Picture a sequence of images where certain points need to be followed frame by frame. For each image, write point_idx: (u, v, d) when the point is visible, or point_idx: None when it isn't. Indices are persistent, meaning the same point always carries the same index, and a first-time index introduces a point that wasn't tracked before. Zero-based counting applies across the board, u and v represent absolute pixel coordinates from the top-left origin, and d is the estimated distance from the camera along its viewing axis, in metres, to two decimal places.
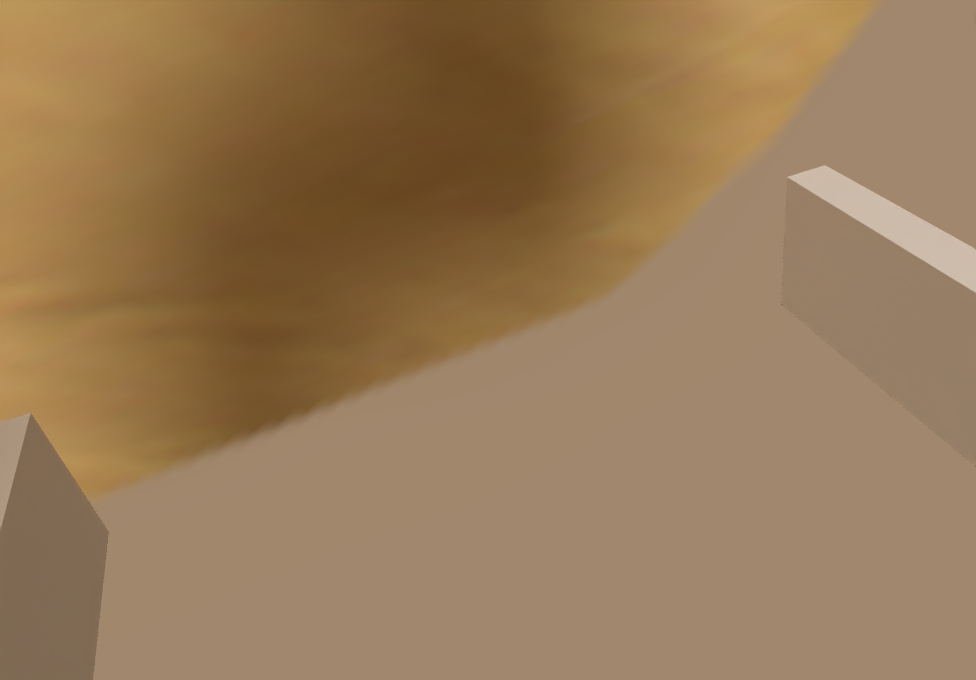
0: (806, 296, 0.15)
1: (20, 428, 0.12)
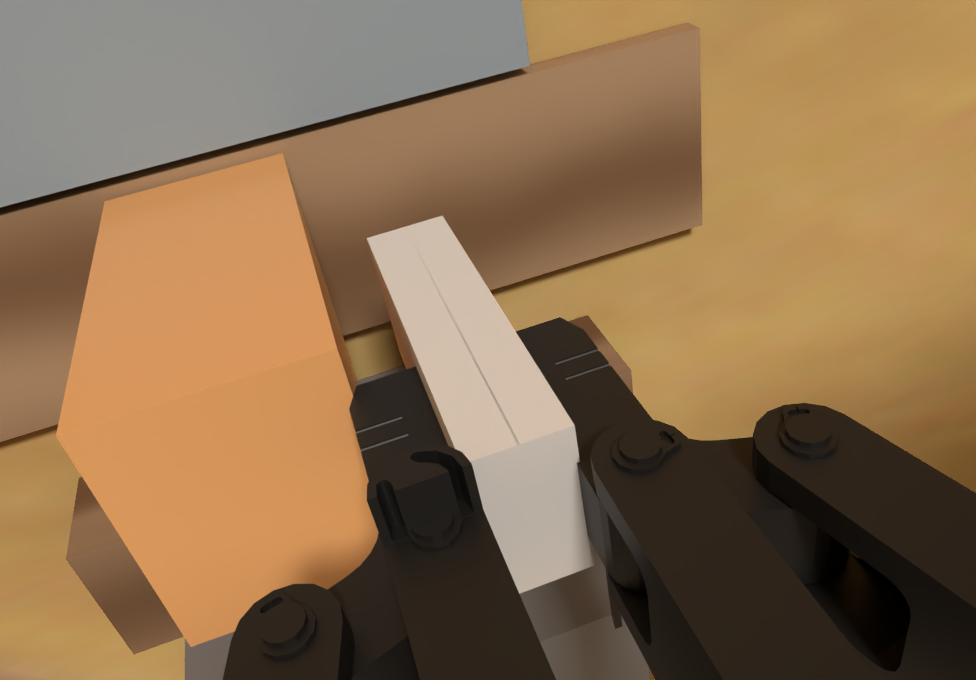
0: None
1: (405, 235, 0.15)
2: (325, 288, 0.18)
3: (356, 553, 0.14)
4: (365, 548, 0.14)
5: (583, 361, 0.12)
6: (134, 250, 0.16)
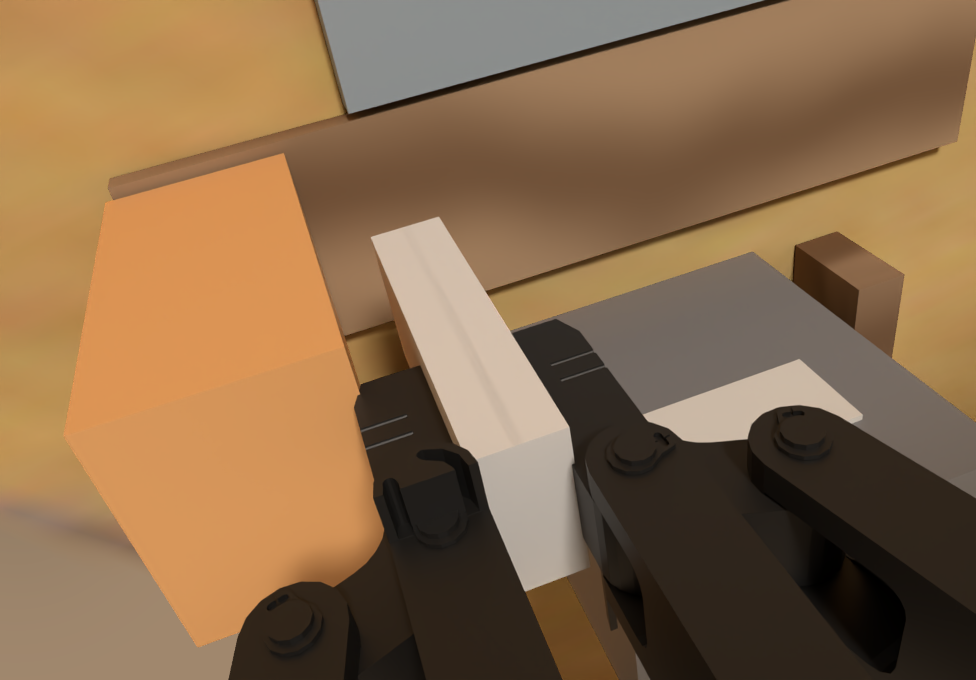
0: None
1: (408, 234, 0.15)
2: None
3: (363, 552, 0.14)
4: (372, 547, 0.14)
5: (579, 363, 0.12)
6: (136, 250, 0.16)
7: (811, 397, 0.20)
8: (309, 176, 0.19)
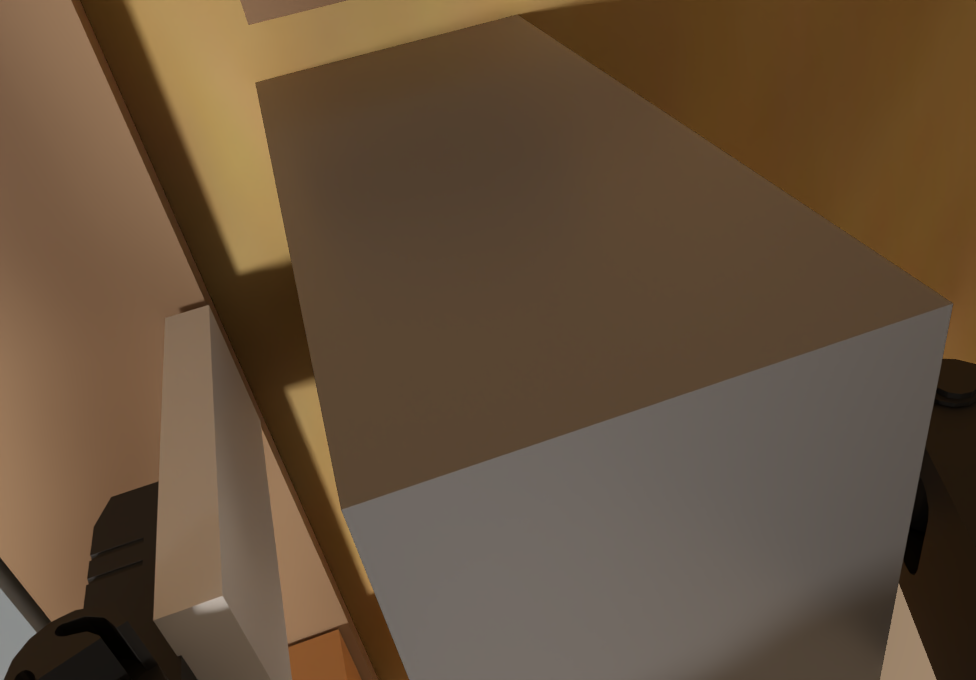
0: None
1: (204, 315, 0.14)
2: None
3: None
4: None
5: None
6: None
7: None
8: None
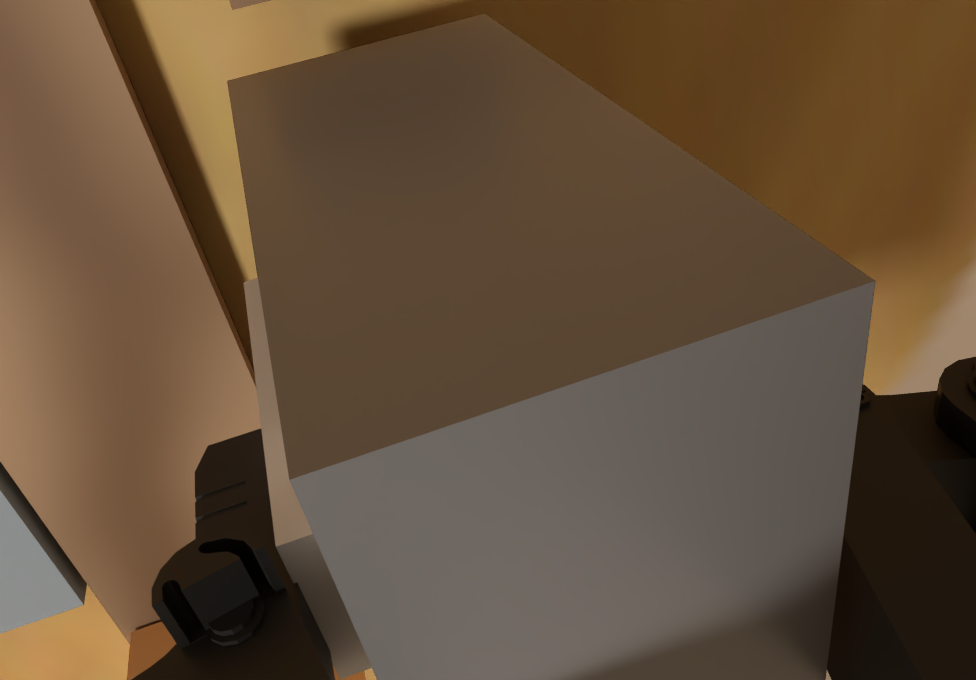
0: None
1: None
2: None
3: None
4: None
5: None
6: None
7: None
8: (155, 613, 0.21)
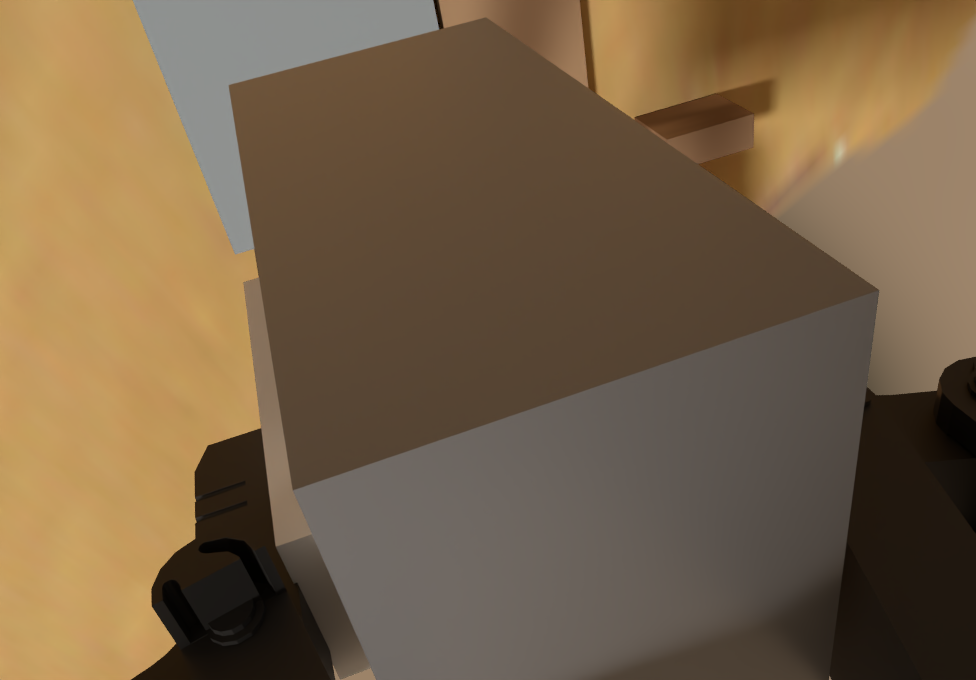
0: None
1: None
2: None
3: None
4: None
5: None
6: None
7: None
8: None
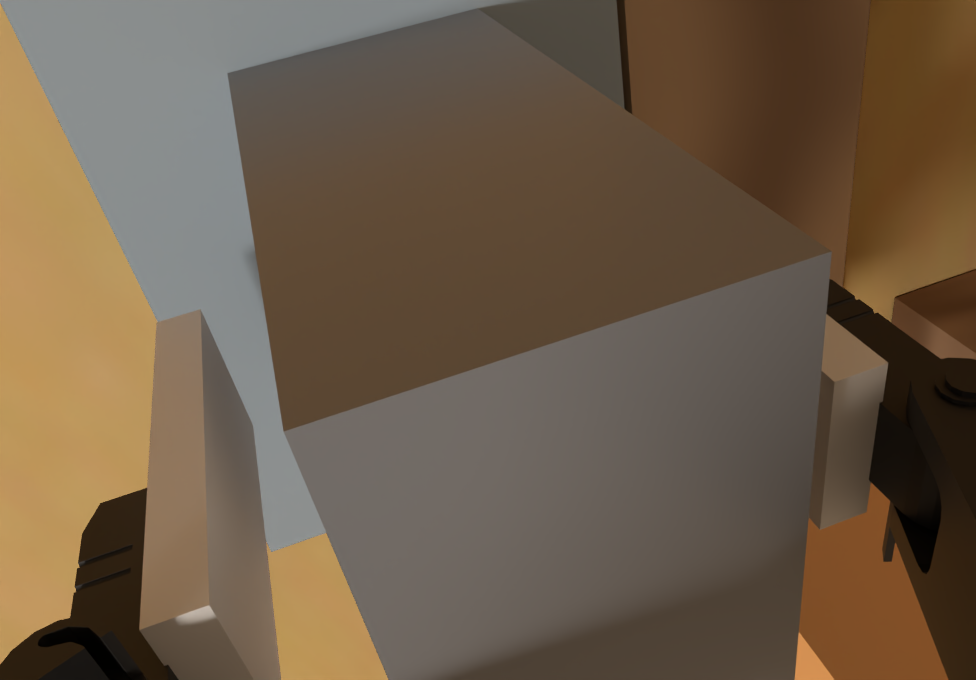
0: None
1: (195, 320, 0.14)
2: None
3: None
4: None
5: (845, 308, 0.12)
6: None
7: None
8: None
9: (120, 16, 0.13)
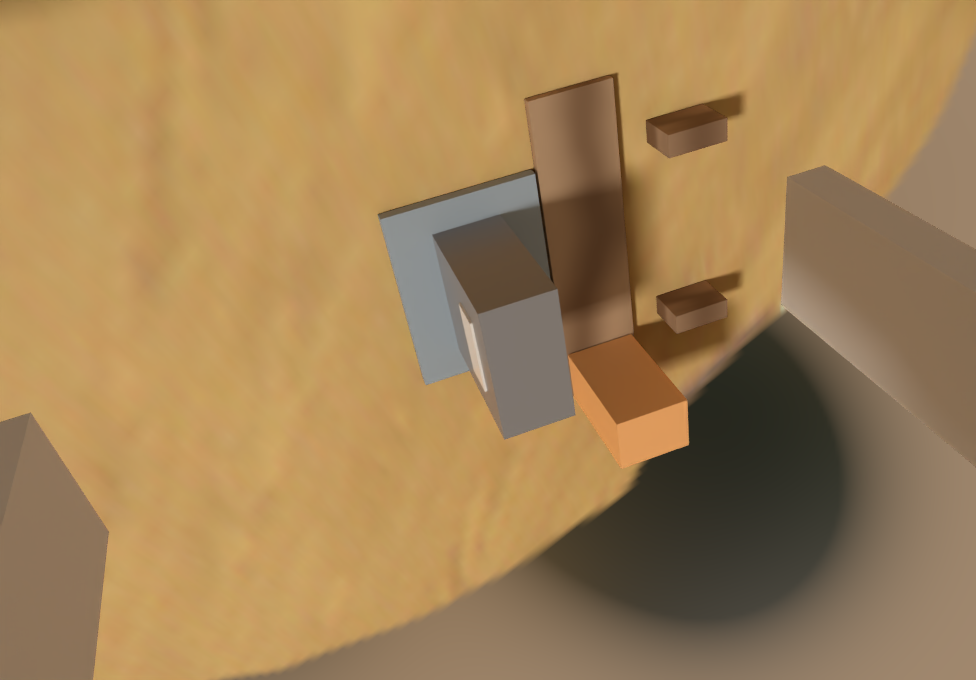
0: (806, 296, 0.15)
1: (21, 427, 0.12)
2: (611, 363, 0.58)
3: (676, 413, 0.54)
4: (675, 411, 0.54)
5: None
6: (588, 412, 0.59)
7: (466, 323, 0.47)
8: (576, 348, 0.60)
9: (407, 222, 0.50)
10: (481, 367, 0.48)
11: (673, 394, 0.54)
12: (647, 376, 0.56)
